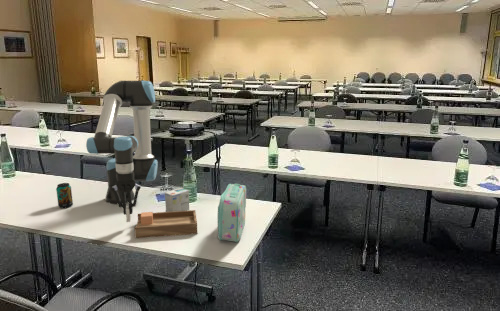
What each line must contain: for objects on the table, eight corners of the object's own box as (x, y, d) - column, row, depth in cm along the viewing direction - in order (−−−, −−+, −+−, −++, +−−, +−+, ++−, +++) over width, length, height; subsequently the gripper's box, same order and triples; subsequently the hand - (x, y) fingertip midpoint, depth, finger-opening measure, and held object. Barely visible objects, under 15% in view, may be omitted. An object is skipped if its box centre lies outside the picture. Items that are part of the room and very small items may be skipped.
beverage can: (67, 209, 207) (64, 187, 204) (55, 208, 208) (52, 186, 205) (75, 204, 213) (73, 183, 210) (64, 203, 215) (61, 182, 212)
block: (142, 220, 188) (141, 212, 186) (153, 219, 188) (152, 211, 187) (141, 224, 183) (140, 216, 182) (152, 224, 184) (152, 215, 183)
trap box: (138, 223, 190) (137, 213, 189) (195, 219, 195) (195, 210, 194) (135, 238, 175) (134, 227, 174) (197, 233, 180) (197, 223, 178)
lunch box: (226, 219, 195) (225, 178, 190) (246, 220, 194) (247, 178, 189) (215, 245, 170) (215, 197, 164) (239, 246, 169) (239, 198, 163)
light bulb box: (182, 206, 212) (181, 187, 209) (189, 209, 207) (189, 190, 204) (165, 211, 205) (164, 191, 202) (172, 215, 200) (171, 195, 197)
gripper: (108, 174, 173) (112, 225, 179) (139, 173, 175) (142, 223, 181) (111, 169, 180) (115, 218, 186) (140, 168, 183) (143, 216, 188)
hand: (128, 220), depth 184 cm, fingers closed
